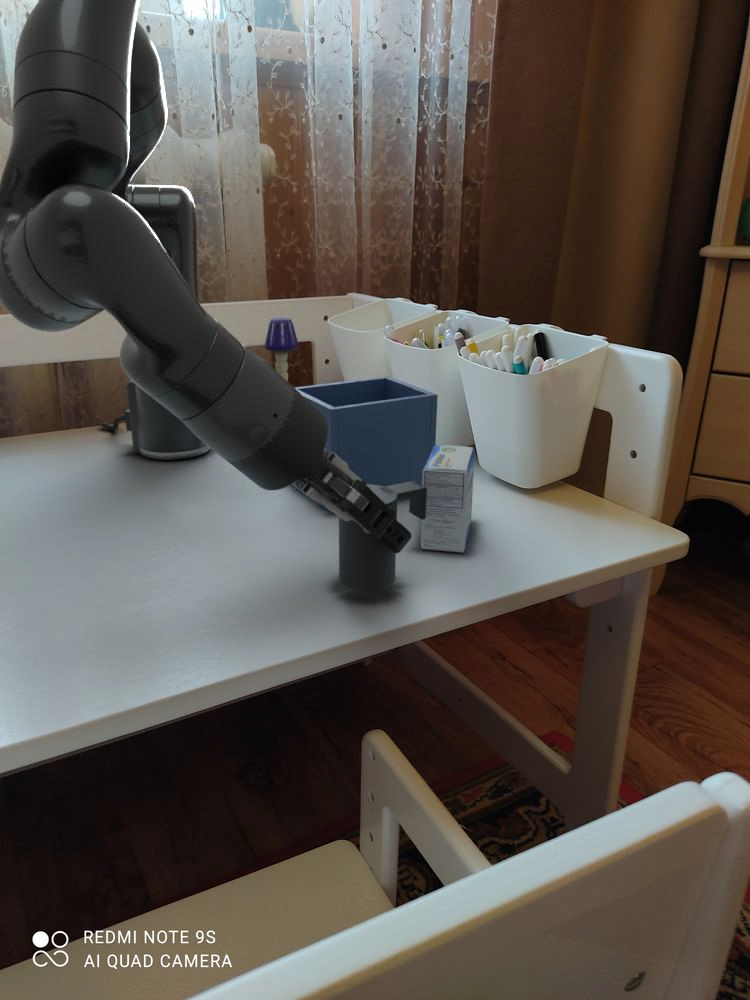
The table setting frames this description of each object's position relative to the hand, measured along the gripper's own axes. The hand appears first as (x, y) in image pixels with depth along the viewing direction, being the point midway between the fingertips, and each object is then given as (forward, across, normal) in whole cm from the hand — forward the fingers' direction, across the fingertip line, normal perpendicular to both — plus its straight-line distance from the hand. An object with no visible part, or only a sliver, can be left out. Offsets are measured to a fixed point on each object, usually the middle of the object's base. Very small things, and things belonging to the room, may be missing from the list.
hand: (385, 531), depth 68 cm
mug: (+3, 0, +3) cm, 4 cm away
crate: (+11, +22, -4) cm, 25 cm away
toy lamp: (+12, +45, -4) cm, 47 cm away
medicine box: (+11, +6, -4) cm, 13 cm away
